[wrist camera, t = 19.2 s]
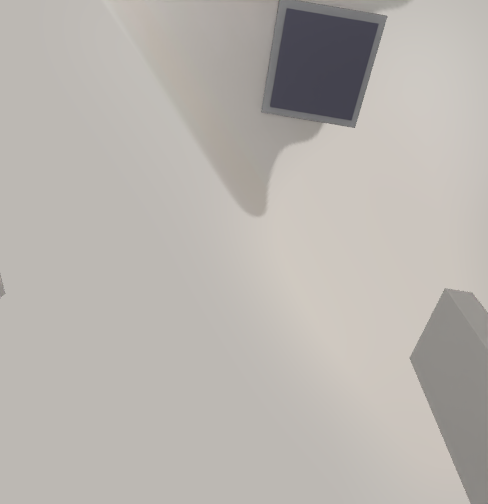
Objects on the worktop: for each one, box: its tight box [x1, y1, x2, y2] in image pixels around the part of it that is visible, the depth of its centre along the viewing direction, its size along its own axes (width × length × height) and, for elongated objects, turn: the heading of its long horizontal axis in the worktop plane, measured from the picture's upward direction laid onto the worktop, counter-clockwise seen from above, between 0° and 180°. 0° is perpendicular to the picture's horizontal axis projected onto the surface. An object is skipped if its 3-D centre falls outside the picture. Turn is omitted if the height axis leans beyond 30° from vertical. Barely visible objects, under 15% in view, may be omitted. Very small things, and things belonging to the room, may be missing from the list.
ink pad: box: [261, 0, 387, 128], centre depth 32 cm, size 9×9×2 cm
